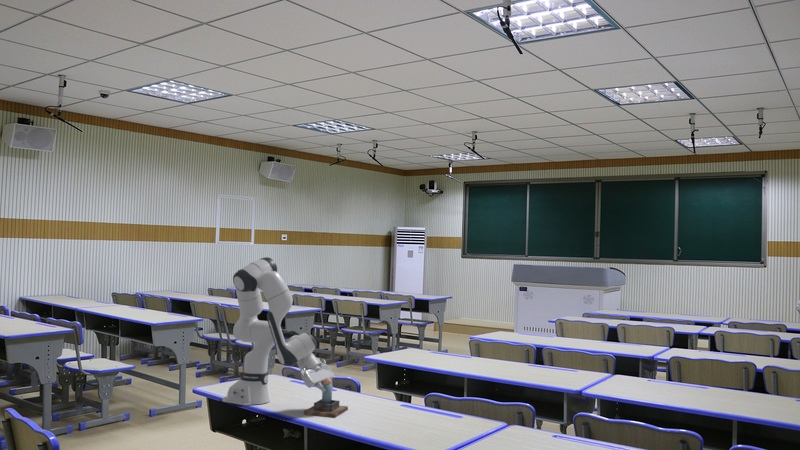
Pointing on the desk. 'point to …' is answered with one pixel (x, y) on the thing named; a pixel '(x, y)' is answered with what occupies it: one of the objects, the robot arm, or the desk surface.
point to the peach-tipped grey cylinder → (327, 394)
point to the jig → (326, 409)
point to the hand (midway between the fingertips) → (328, 390)
